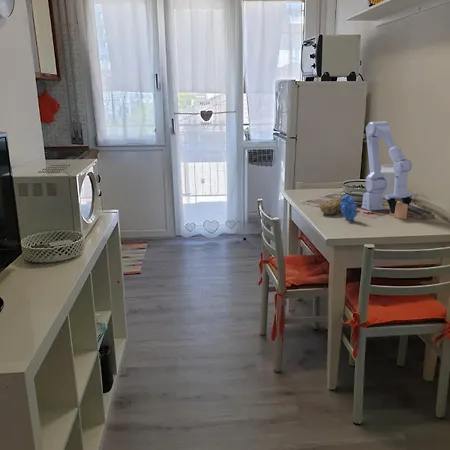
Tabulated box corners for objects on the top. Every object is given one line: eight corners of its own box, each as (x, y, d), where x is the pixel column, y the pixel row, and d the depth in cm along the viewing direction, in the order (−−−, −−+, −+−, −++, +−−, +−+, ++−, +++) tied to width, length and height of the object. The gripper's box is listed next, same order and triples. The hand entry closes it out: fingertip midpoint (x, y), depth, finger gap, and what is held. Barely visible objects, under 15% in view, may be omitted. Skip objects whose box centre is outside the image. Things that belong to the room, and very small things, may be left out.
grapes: (332, 217, 225) (334, 193, 222) (344, 216, 228) (345, 192, 224) (347, 224, 215) (349, 198, 212) (359, 222, 217) (361, 197, 214)
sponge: (341, 209, 246) (310, 206, 238) (346, 195, 243) (315, 191, 235) (356, 220, 235) (323, 216, 227) (361, 205, 232) (329, 201, 224)
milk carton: (392, 198, 261) (395, 165, 256) (379, 198, 263) (382, 165, 257) (391, 196, 268) (394, 163, 262) (378, 195, 269) (380, 163, 264)
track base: (418, 219, 220) (418, 213, 220) (395, 210, 237) (395, 204, 236) (434, 217, 223) (435, 211, 222) (410, 208, 239) (410, 203, 238)
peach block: (402, 219, 221) (403, 204, 220) (389, 214, 231) (390, 200, 229) (406, 218, 222) (407, 204, 220) (393, 213, 231) (395, 200, 229)
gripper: (392, 187, 217) (390, 216, 220) (419, 185, 220) (416, 213, 224) (383, 185, 223) (381, 212, 227) (409, 183, 227) (407, 210, 231)
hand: (398, 212), depth 226 cm, fingers open, 6 cm apart
